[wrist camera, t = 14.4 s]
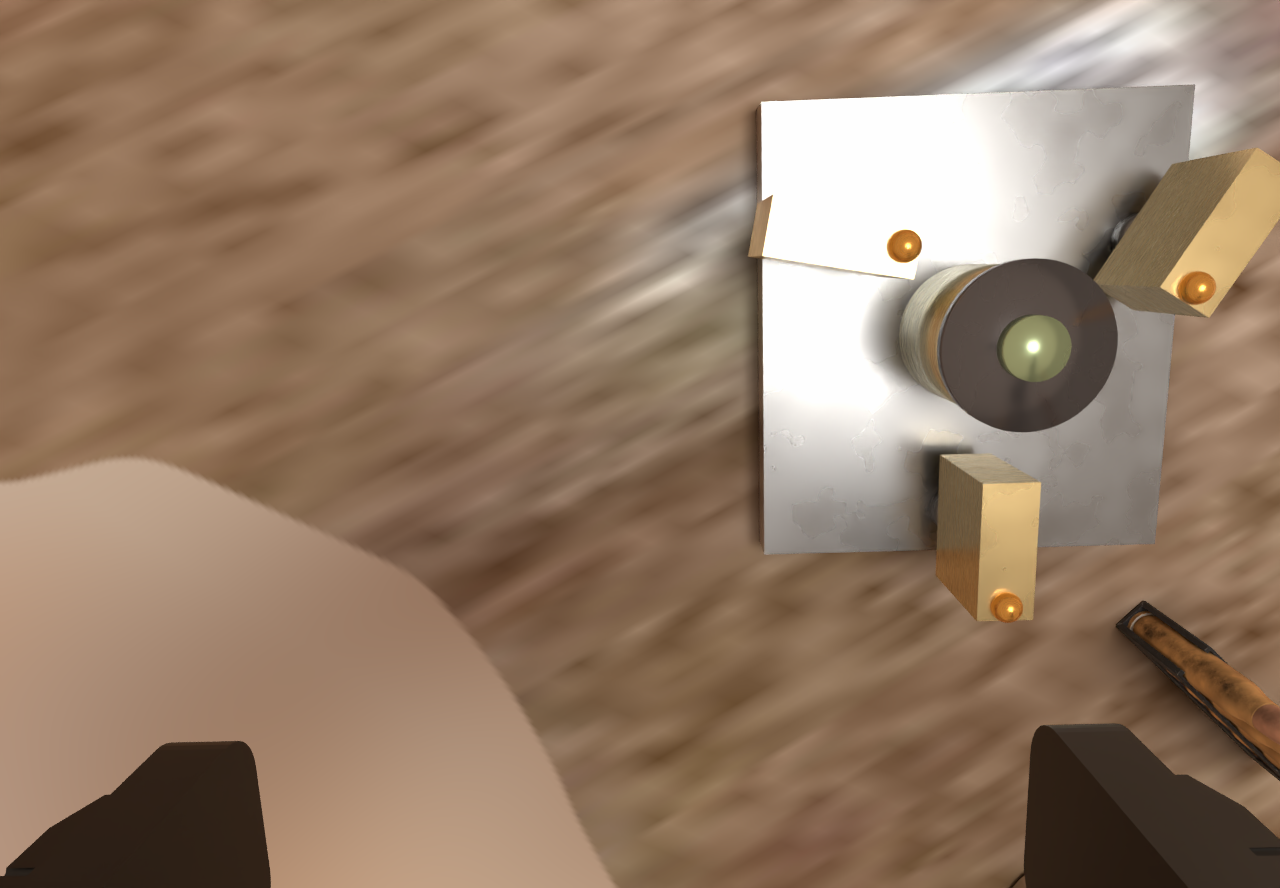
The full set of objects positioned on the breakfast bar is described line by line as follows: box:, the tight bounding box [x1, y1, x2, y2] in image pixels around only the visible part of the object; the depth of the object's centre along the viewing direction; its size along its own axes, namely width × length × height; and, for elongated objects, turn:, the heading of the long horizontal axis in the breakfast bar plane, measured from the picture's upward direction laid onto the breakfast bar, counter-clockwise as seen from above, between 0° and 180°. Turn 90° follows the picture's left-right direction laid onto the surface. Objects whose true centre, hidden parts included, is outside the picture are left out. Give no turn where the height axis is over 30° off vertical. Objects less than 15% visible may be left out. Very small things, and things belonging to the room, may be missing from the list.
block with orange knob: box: [930, 453, 1041, 623], centre depth 37 cm, size 2×6×7 cm, turn 2°
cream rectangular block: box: [748, 194, 927, 279], centre depth 35 cm, size 2×6×7 cm, turn 82°
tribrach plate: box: [756, 85, 1195, 554], centre depth 36 cm, size 20×18×9 cm
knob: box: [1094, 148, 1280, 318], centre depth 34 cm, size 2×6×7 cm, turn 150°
